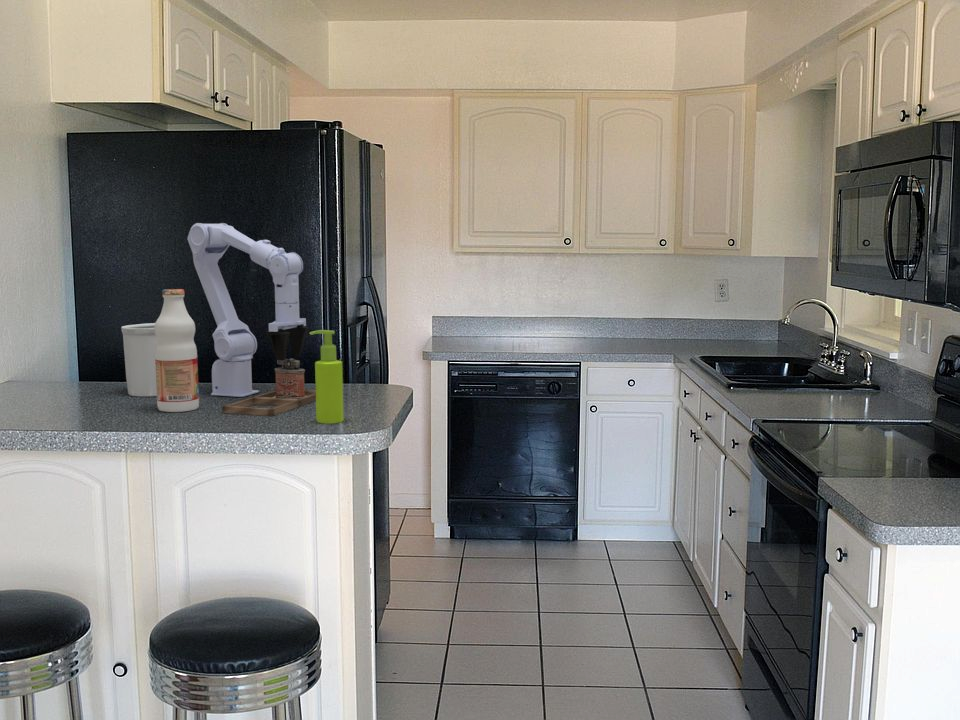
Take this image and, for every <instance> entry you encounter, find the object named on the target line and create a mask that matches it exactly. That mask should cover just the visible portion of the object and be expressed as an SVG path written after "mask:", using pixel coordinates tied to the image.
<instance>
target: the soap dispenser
mask: <svg viewBox="0 0 960 720" xmlns="http://www.w3.org/2000/svg"><path fill="white" fill-rule="evenodd" d="M308 333H309V334H310V336H312V335H319V334H322V335H323V339H324V340H323V341H324V343H323V344H322V345H320V360H317V361H315V362H314V370H315V372H314V373H315V374H314V375H315V378H314V379H315V391H316V401H315V411H316V412H315V413H316V415H315V416H316V419H315V420H316V422H317V423H320V424H338V423H341V422H344V380H343V378H344V377H343V373H344V372H343V361H342V360H338V359H337V346H336V345H335V344H333V335H335V330H333V329H332V330H330V329H329V330H327V329H319V330H314V331H309V332H308Z"/></svg>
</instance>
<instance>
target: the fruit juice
mask: <svg viewBox="0 0 960 720" xmlns="http://www.w3.org/2000/svg"><path fill="white" fill-rule="evenodd" d="M161 293H162V298H163V304H162V308H161V312H160V315H159V316H158V318H157V319H156V321H155V322H154V323H155V328H154V331H155V335H156V338H157V344H156V347H155V365H156V387H157V396H156V405H157V409H158V411H160V412H163V413H166V412H167V413H183V412H190V411H193V410H194V411H195V410H197V409H199V406H200V393H199V390H200V389H199V367H198V349H197V345H196V343H195V340H194V339H195V334H196V323H195V321H194V319H192V317H191V316H190V315H189V312H188V310H187V308H186V305H185V301H184V298H185V290H184V289H182V288H181V289H180V288H177V289H175V288H171V289H170V288H169V289H162V292H161Z"/></svg>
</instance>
